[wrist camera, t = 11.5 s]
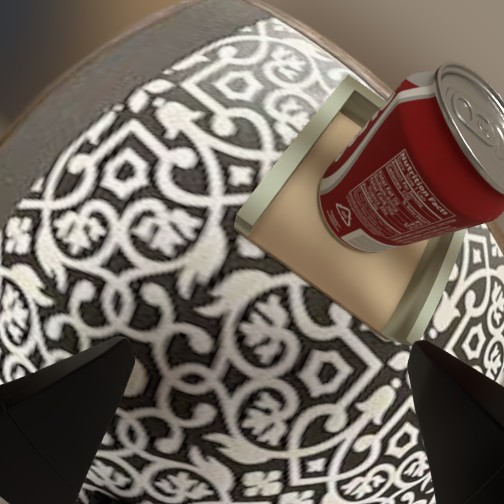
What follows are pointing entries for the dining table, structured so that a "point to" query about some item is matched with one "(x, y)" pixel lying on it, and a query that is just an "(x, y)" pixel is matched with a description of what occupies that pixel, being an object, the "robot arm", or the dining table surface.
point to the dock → (328, 245)
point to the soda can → (420, 164)
